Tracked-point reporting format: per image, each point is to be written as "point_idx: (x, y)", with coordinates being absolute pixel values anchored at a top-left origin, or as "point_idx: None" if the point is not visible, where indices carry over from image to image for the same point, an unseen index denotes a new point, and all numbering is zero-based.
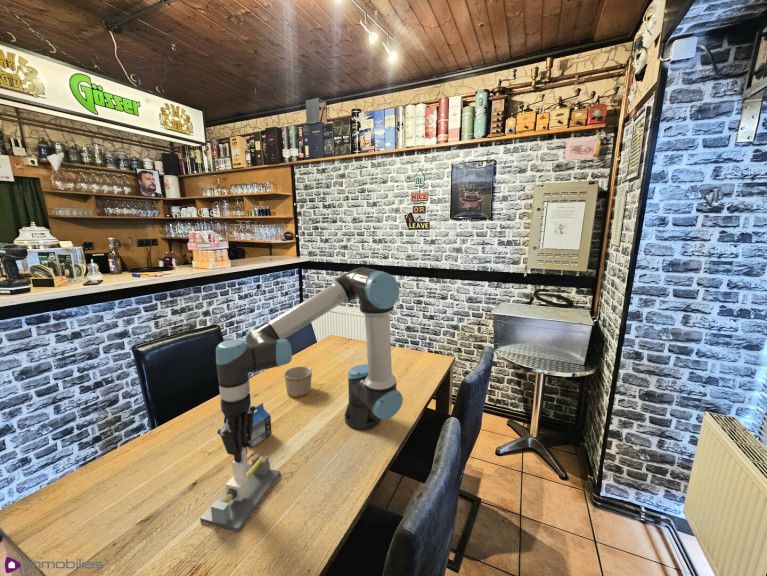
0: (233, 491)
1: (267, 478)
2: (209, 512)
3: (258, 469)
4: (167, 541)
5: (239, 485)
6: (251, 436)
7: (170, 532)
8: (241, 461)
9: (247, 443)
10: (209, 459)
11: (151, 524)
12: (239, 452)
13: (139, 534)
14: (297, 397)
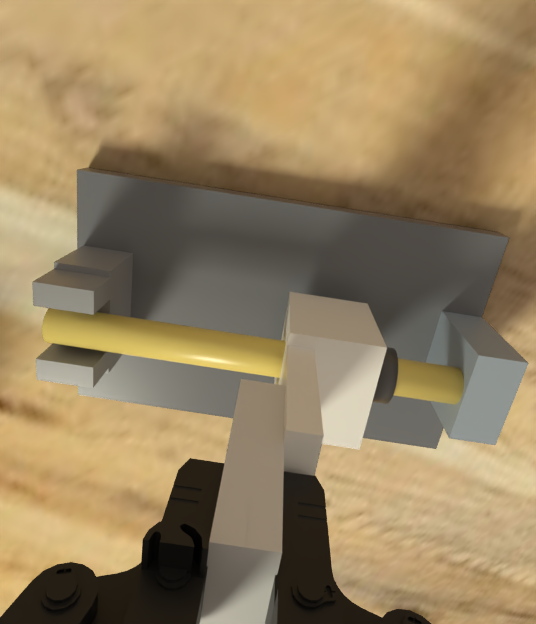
0: (382, 373)
1: (152, 230)
2: (405, 425)
3: (119, 313)
4: (517, 503)
5: (367, 357)
6: (22, 603)
7: (476, 514)
8: (284, 464)
9: (150, 571)
10: None
11: (437, 590)
12: (335, 587)
13: (478, 601)
14: None
